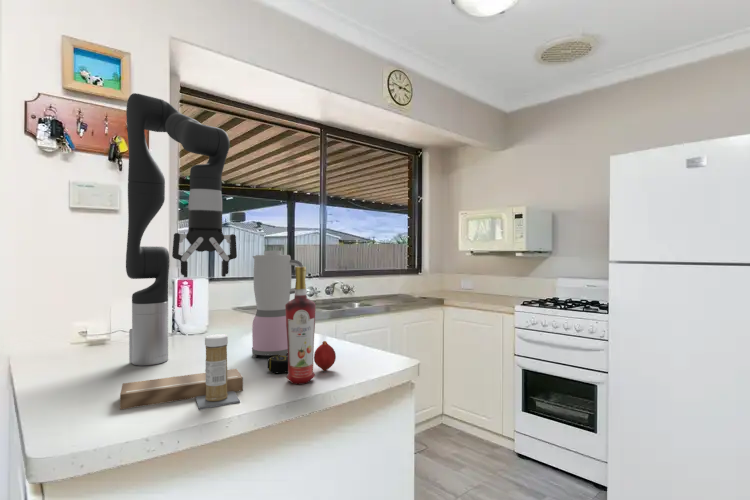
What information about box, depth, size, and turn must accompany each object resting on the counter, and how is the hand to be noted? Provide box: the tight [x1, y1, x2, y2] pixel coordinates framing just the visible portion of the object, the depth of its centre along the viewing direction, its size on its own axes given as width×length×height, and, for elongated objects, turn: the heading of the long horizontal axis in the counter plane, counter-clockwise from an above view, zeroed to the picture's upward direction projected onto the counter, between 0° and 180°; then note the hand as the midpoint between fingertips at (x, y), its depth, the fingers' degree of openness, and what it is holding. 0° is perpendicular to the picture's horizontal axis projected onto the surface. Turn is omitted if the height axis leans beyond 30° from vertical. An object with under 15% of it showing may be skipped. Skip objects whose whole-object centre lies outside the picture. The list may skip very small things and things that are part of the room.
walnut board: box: [119, 368, 244, 410], centre depth 93 cm, size 24×8×3 cm, turn 118°
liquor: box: [285, 266, 317, 385], centre depth 102 cm, size 7×7×28 cm
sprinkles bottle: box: [204, 333, 229, 401], centre depth 89 cm, size 5×5×14 cm
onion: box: [313, 340, 337, 372], centre depth 111 cm, size 6×6×8 cm
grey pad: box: [195, 391, 241, 410], centre depth 89 cm, size 8×7×1 cm
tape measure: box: [266, 355, 288, 374], centre depth 111 cm, size 7×7×4 cm
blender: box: [251, 250, 304, 359], centre depth 129 cm, size 16×12×32 cm
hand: (205, 276), depth 101 cm, fingers open, 8 cm apart
